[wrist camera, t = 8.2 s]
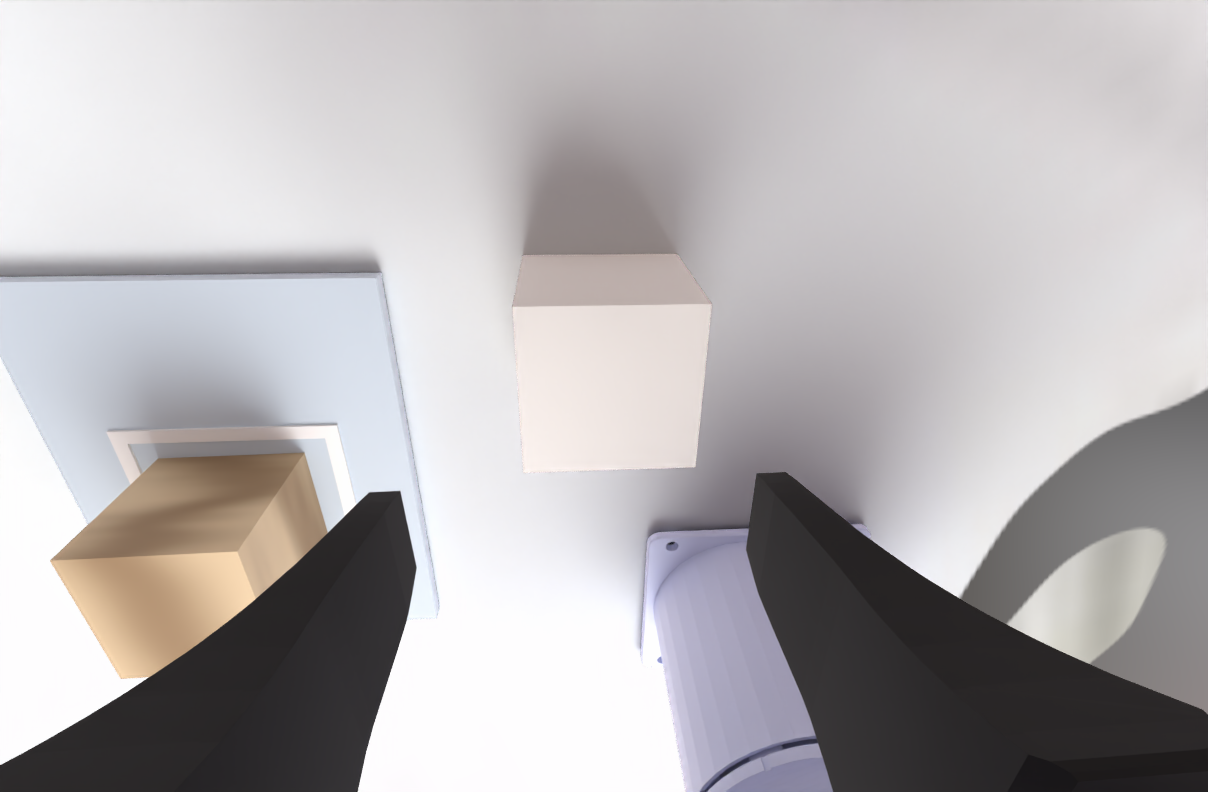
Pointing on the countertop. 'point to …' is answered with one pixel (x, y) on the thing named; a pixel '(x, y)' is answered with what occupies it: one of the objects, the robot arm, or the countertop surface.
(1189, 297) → the countertop surface
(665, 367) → the top cube
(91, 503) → the board
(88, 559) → the base cube
